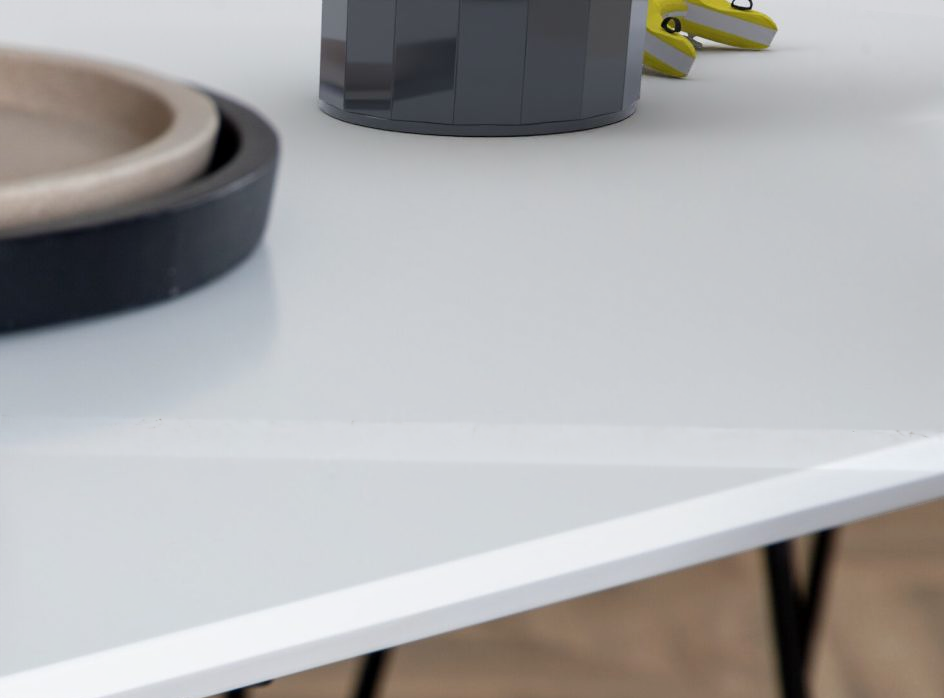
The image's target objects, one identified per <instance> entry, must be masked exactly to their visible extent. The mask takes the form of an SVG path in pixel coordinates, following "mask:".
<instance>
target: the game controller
mask: <svg viewBox="0 0 944 698" xmlns="http://www.w3.org/2000/svg"><path fill="white" fill-rule="evenodd" d="M735 1H736V0H732V1H731V2H730V1H728V0H649V1H648V12H647V23H646V34H645V45H644V56H643V65H645V66H646V67H647V68H650V69H652V70H654V71H656V72H658V73H661V74H664V75H667V76H670V77H676V78H685V77H687V76H688V74H689V72H690V70H691V68H692V66H693V65H694V63H695V60H696V58H697V52H696V49H695V48H702V47H703V43H701V42H700V41H697V39H694V38H695V37H698V38H702V39H703V40H704V39H705V40H708V41H711V42H714V43H717V44H722V45H726V46H730V47H734V48H740V49H747V50H759V51H760V50H765V49H767V48H770V47H771V44H772V43H773V40H774V39H775V36H776V34H777V33H778V26H777V23H776V22H774V20H773V19H772V18H771V17H770V16H769V15H767V14H765V13H763V12H761V11H758V10H754V9H753V7H754V3H753V0H747V2H749V6H741V5H736V4H734V2H735ZM681 32H682V33H685V34H687V35H685V34H681Z"/></svg>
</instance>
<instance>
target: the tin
mask: <svg viewBox="0 0 944 698" xmlns="http://www.w3.org/2000/svg"><path fill="white" fill-rule="evenodd" d="M648 1H649V0H321V7H320V11H321V12H320V37H319V41H320V43H319V68H318V72H319V73H318V105H319V109H321V110H322V111H323V113H325V114H327V115H328V116H330V117H333V118H336V119H338V120H341V121H344V122H346V123H347V122H348V123H351V124H353V125H354V124H355V125H360V126H363V127H368V128H375V129H379V130H387V131H392V132H393V131H394V132H403V133H411V134H421V135H422V134H423V135H436V136H455V137H456V136H458V137H514V136H515V137H516V136H536V135H549V134H559V133H569V132H575V131H582V130H583V131H584V130H588V129H593V128H599V127H604V126H607V125H610V124H614V123H617V122H620V121H622V120H625V119H627V118H629V117H630V116H631V115H632V114H633V113H635V111H636V108H637V102H638V101H639V100H640V98H641V89H642V77H643V65H644V64H643V56H644V45H645V34H646V23H647V12H648Z"/></svg>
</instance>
